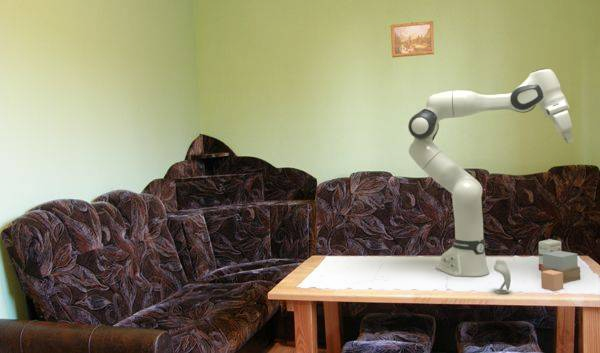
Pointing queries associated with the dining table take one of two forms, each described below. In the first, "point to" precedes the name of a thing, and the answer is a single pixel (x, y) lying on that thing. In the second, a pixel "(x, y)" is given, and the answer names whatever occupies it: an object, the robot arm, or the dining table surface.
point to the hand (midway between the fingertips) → (569, 142)
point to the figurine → (503, 269)
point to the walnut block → (566, 273)
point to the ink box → (547, 248)
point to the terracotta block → (552, 280)
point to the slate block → (560, 260)
